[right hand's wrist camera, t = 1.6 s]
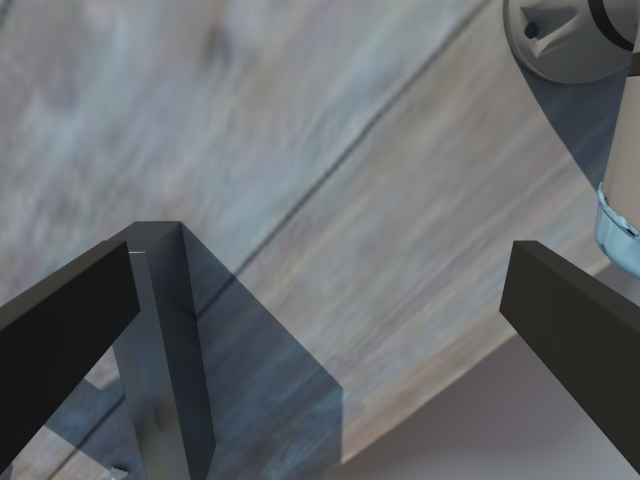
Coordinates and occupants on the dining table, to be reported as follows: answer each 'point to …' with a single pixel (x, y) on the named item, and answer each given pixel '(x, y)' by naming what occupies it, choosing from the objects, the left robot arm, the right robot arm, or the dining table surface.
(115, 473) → the fork
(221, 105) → the dining table surface
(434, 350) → the dining table surface
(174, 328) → the bar
